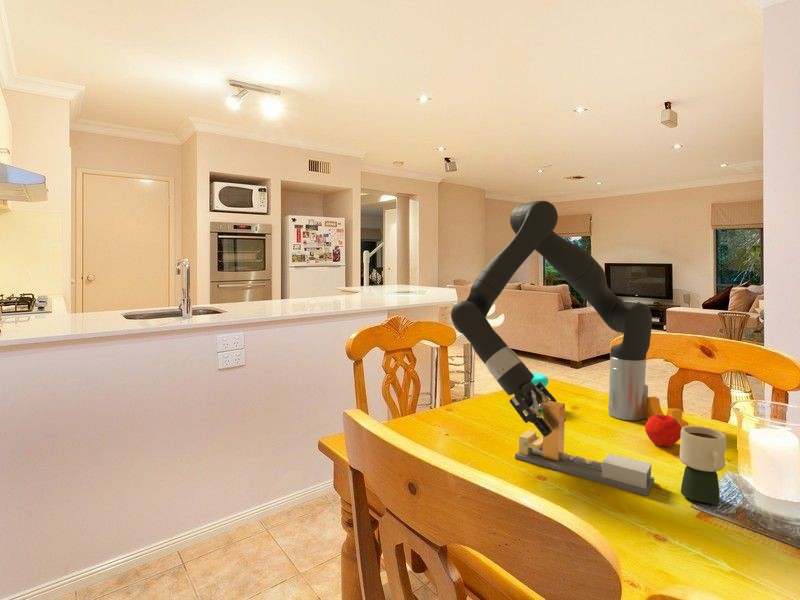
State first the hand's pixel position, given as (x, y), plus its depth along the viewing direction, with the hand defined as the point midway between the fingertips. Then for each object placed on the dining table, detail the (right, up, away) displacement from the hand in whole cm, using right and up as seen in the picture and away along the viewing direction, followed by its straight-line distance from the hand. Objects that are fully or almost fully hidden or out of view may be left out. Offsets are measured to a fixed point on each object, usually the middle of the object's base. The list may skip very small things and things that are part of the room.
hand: (555, 428), depth 101 cm
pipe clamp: (+38, -6, +23) cm, 45 cm away
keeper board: (+4, -8, -3) cm, 10 cm away
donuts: (+6, -5, +40) cm, 40 cm away
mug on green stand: (+22, -9, -15) cm, 28 cm away
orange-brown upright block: (+2, -7, -1) cm, 7 cm away
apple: (+30, -7, +10) cm, 32 cm away
